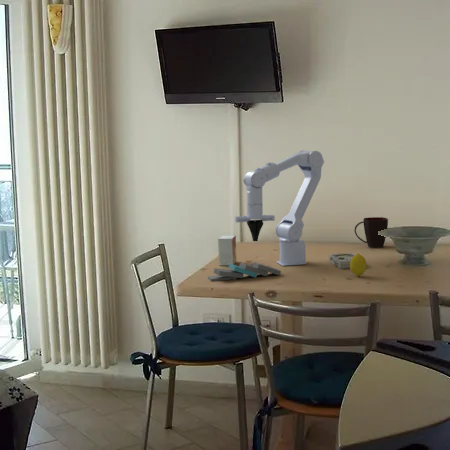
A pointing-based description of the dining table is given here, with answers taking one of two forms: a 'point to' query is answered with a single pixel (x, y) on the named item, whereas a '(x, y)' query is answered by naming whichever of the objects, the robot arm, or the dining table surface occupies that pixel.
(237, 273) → the domino
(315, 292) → the dining table surface
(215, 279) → the domino
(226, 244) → the small box
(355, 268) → the lemon
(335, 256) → the handheld gaming console
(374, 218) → the cup
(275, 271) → the domino
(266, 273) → the domino
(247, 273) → the teal domino
